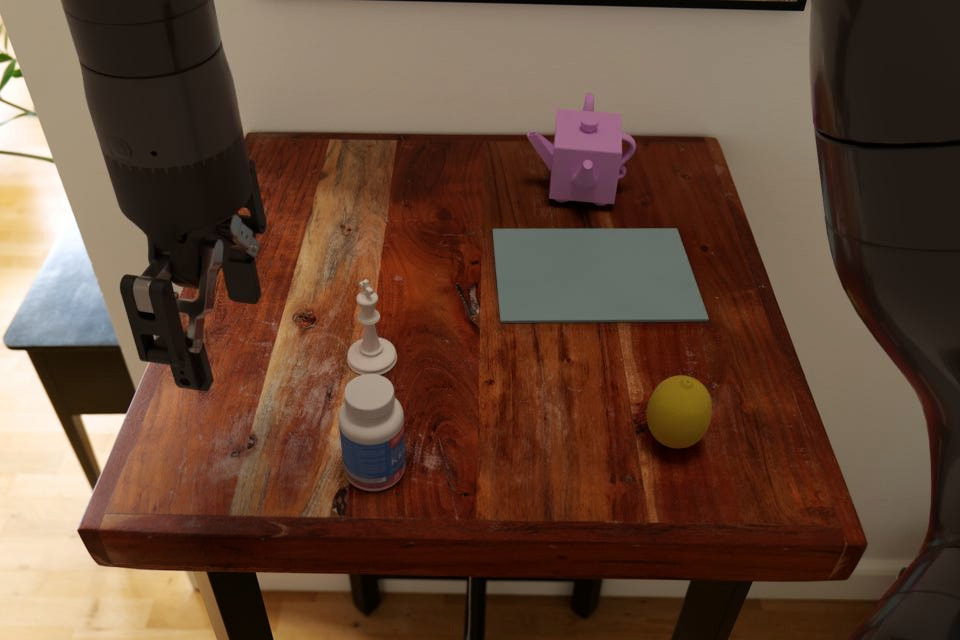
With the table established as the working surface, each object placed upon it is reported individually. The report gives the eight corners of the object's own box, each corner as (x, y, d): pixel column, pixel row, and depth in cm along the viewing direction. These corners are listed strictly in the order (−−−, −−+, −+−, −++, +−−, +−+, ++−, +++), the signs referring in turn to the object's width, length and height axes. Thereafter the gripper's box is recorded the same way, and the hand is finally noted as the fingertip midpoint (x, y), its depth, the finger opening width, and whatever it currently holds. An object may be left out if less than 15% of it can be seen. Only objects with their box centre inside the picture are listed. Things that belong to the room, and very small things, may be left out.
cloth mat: (708, 321, 90) (709, 319, 90) (500, 323, 89) (500, 320, 89) (676, 230, 102) (677, 228, 102) (492, 231, 101) (492, 228, 101)
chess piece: (378, 334, 87) (372, 257, 81) (407, 361, 85) (403, 283, 78) (337, 355, 85) (328, 278, 78) (365, 384, 82) (358, 306, 75)
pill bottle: (404, 493, 73) (400, 418, 66) (341, 493, 73) (330, 417, 66) (408, 443, 77) (404, 367, 70) (347, 442, 77) (338, 366, 70)
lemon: (637, 459, 76) (652, 398, 71) (643, 413, 80) (657, 353, 75) (700, 471, 76) (719, 411, 70) (703, 425, 80) (721, 365, 74)
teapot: (528, 146, 115) (533, 79, 108) (626, 154, 114) (637, 87, 108) (518, 225, 102) (523, 154, 95) (629, 235, 101) (642, 164, 94)
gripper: (180, 208, 41) (236, 428, 52) (280, 74, 51) (309, 281, 62) (35, 190, 42) (120, 410, 53) (162, 61, 52) (211, 268, 63)
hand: (222, 340), depth 58 cm, fingers open, 8 cm apart
